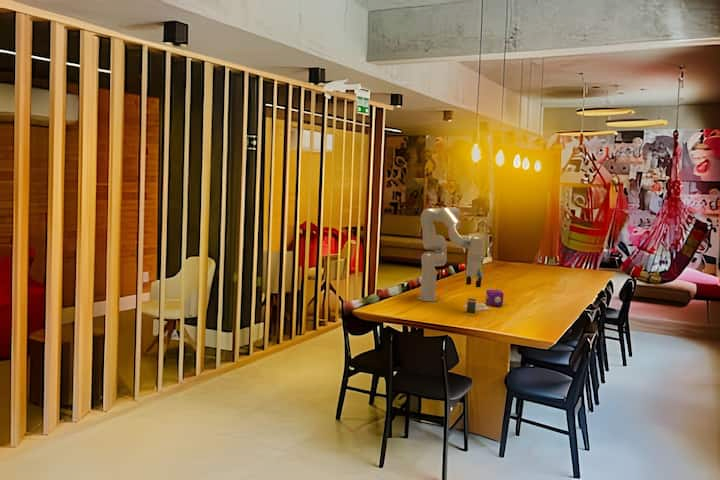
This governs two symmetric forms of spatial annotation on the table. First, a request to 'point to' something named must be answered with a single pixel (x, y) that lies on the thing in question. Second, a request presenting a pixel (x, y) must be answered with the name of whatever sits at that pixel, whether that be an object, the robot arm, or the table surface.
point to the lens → (471, 305)
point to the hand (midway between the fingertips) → (473, 285)
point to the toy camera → (494, 297)
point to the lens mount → (480, 307)
